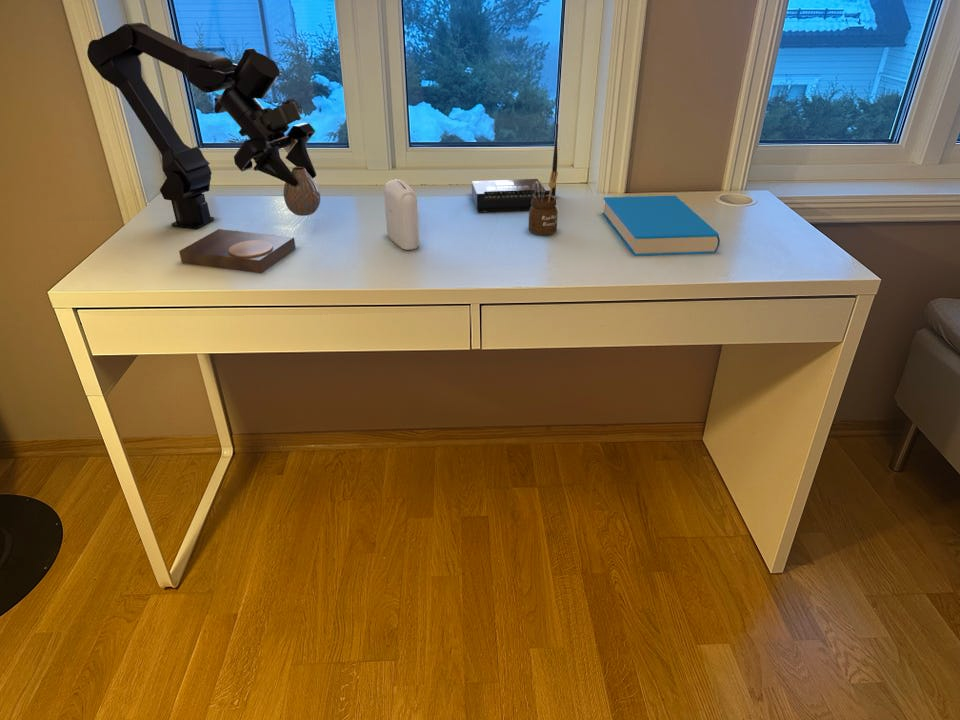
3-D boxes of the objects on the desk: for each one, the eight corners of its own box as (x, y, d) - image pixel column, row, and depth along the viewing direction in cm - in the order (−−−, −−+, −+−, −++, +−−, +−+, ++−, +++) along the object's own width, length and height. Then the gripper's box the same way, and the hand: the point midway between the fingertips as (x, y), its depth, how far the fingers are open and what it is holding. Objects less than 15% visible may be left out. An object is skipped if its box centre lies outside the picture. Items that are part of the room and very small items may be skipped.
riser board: (181, 263, 127) (178, 249, 126) (221, 240, 138) (218, 227, 136) (261, 273, 123) (258, 259, 122) (295, 249, 134) (293, 235, 132)
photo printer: (384, 235, 140) (380, 176, 134) (404, 232, 142) (400, 173, 136) (401, 252, 132) (397, 189, 126) (422, 248, 134) (419, 187, 128)
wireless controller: (478, 213, 153) (477, 135, 144) (470, 194, 165) (470, 121, 156) (564, 209, 155) (569, 132, 146) (551, 191, 167) (555, 119, 158)
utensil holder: (522, 231, 142) (524, 174, 136) (541, 224, 146) (543, 168, 140) (544, 238, 139) (547, 180, 133) (562, 230, 143) (566, 174, 137)
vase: (312, 219, 130) (307, 174, 126) (279, 216, 131) (273, 171, 127) (327, 208, 136) (323, 164, 131) (296, 205, 137) (290, 162, 133)
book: (636, 236, 129) (602, 195, 150) (633, 258, 131) (600, 214, 152) (723, 233, 130) (677, 193, 151) (718, 254, 132) (674, 212, 153)
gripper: (235, 93, 116) (297, 166, 118) (301, 78, 130) (355, 143, 132) (208, 136, 122) (267, 204, 124) (273, 117, 137) (325, 178, 139)
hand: (305, 180), depth 130 cm, fingers closed on vase, 5 cm apart
